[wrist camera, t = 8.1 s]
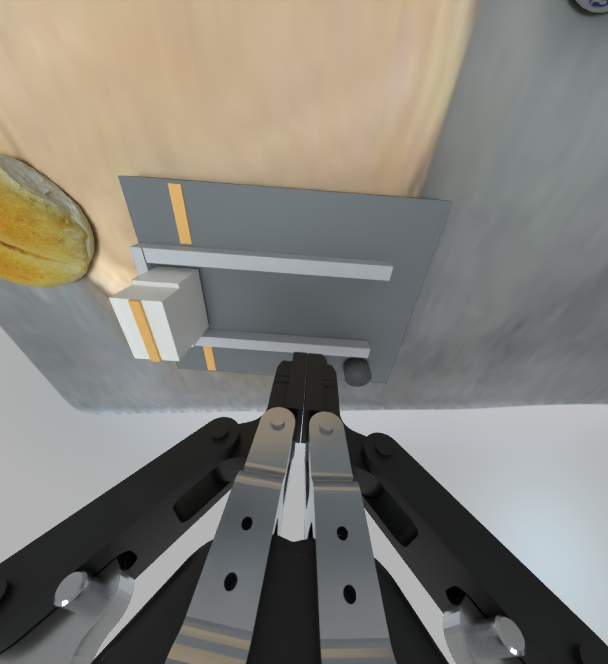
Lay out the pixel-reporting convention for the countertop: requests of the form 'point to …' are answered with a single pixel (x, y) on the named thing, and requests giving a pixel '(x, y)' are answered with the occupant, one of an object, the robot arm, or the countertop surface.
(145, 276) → the fader
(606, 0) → the energy drink
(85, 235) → the bread roll
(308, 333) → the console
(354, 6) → the countertop surface
